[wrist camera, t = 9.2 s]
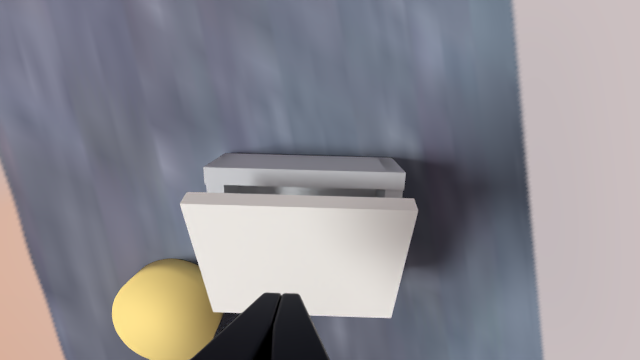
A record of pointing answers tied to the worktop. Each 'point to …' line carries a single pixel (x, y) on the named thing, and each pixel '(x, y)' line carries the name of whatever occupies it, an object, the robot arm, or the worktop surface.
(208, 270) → the lid
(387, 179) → the grey frame
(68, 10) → the worktop surface
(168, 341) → the yellow rounded disc
